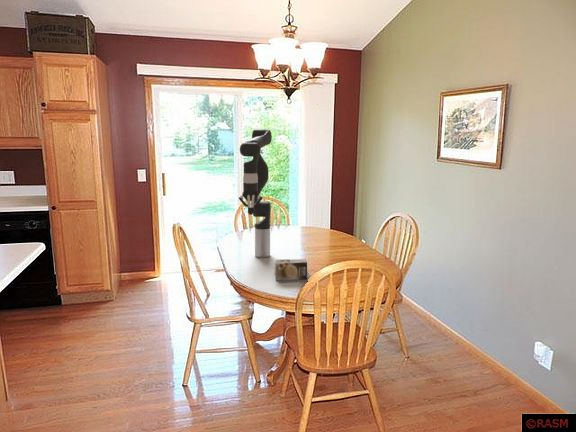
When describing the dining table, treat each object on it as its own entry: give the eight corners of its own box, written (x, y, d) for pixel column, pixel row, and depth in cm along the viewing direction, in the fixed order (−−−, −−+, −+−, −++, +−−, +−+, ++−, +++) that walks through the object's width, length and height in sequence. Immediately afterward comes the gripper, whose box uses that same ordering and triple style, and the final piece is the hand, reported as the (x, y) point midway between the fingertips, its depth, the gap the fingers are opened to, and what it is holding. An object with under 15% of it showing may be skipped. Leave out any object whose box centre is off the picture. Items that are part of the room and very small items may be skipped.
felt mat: (274, 273, 219) (274, 272, 219) (307, 271, 222) (307, 271, 222) (279, 282, 205) (279, 282, 205) (313, 280, 209) (314, 280, 209)
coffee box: (275, 263, 206) (307, 262, 208) (275, 259, 213) (305, 258, 214) (275, 280, 208) (307, 279, 210) (275, 276, 214) (305, 275, 216)
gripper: (262, 180, 218) (262, 212, 222) (237, 181, 216) (237, 213, 219) (264, 182, 211) (264, 215, 215) (238, 182, 209) (238, 216, 212)
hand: (250, 214), depth 217 cm, fingers closed
